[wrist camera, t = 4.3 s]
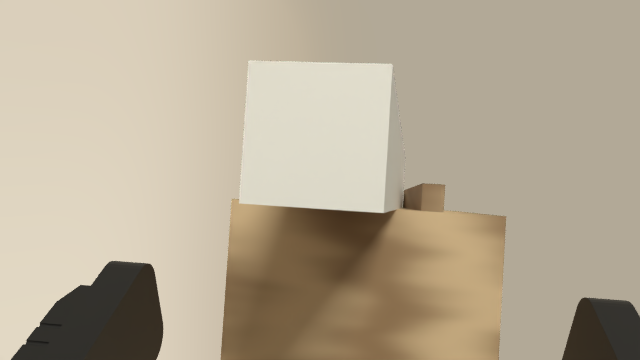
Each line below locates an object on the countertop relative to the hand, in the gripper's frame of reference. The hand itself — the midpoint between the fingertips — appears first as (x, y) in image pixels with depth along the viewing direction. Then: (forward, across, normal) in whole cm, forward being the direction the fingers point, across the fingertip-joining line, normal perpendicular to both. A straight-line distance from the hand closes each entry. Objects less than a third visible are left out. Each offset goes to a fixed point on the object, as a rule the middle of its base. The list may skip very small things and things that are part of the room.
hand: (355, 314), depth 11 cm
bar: (+11, 0, +4) cm, 12 cm away
